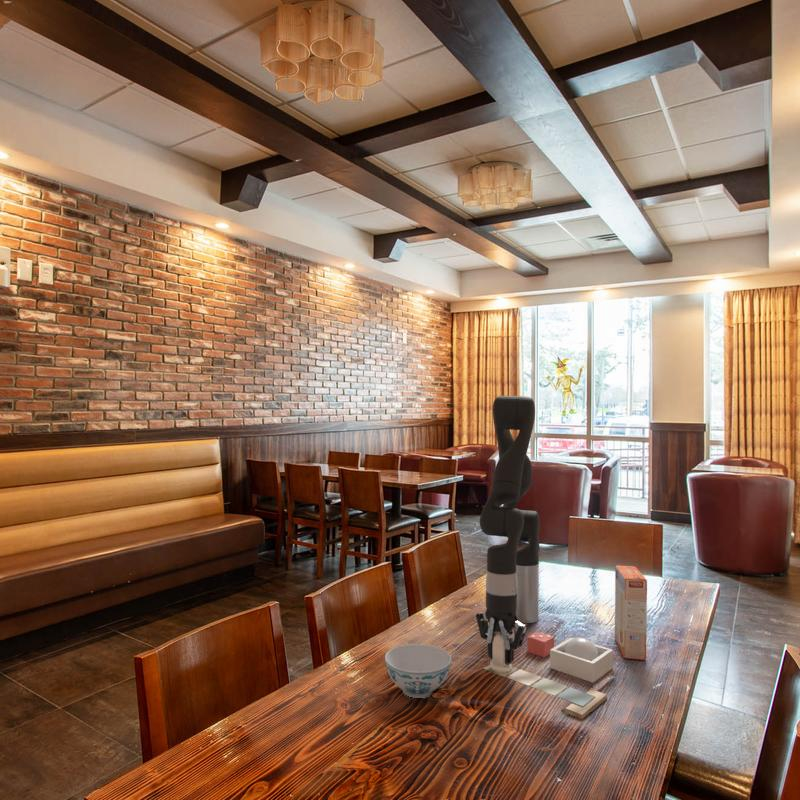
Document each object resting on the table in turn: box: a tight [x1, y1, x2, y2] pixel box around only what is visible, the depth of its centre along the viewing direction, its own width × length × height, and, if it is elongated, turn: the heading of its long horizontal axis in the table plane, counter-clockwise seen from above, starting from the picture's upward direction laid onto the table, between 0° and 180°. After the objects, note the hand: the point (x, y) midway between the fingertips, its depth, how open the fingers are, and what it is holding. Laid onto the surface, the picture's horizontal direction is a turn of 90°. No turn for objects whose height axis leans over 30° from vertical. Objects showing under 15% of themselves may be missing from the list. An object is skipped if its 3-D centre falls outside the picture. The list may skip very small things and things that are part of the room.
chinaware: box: [384, 643, 452, 699], centre depth 129 cm, size 15×15×8 cm
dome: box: [565, 636, 599, 661], centre depth 140 cm, size 8×8×8 cm
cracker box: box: [614, 564, 648, 661], centre depth 154 cm, size 14×6×21 cm, turn 168°
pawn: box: [489, 632, 513, 673], centre depth 139 cm, size 5×5×8 cm
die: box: [526, 631, 555, 658], centre depth 149 cm, size 5×5×5 cm
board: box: [483, 664, 608, 720], centre depth 132 cm, size 28×12×1 cm, turn 47°
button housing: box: [549, 637, 614, 688], centre depth 140 cm, size 11×11×6 cm
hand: (500, 660), depth 139 cm, fingers closed on pawn, 4 cm apart
